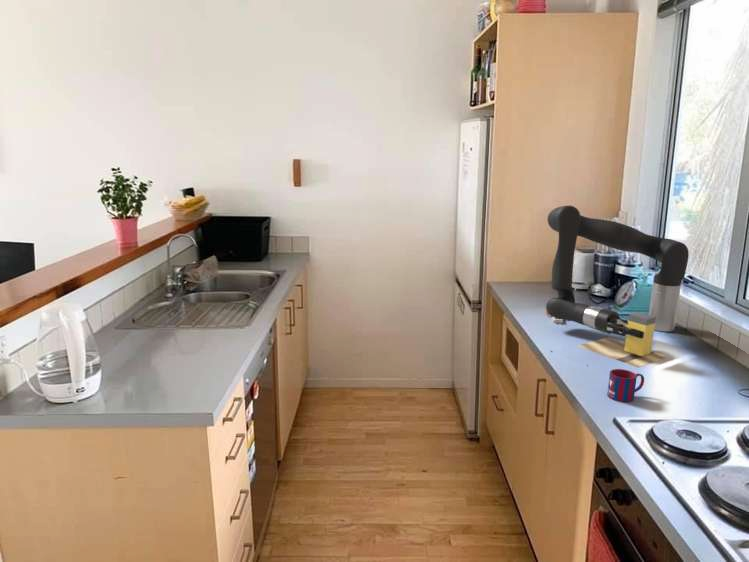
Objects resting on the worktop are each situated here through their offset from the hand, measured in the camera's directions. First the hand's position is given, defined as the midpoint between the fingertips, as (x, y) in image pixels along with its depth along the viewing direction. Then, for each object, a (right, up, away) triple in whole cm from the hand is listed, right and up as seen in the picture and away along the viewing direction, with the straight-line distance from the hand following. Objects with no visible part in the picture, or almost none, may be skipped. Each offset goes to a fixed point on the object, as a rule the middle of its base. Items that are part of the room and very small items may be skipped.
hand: (647, 333), depth 184 cm
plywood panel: (-5, -8, +8) cm, 12 cm away
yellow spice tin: (-2, -6, +4) cm, 7 cm away
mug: (-17, -15, -24) cm, 33 cm away
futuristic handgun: (-7, +1, +45) cm, 46 cm away
